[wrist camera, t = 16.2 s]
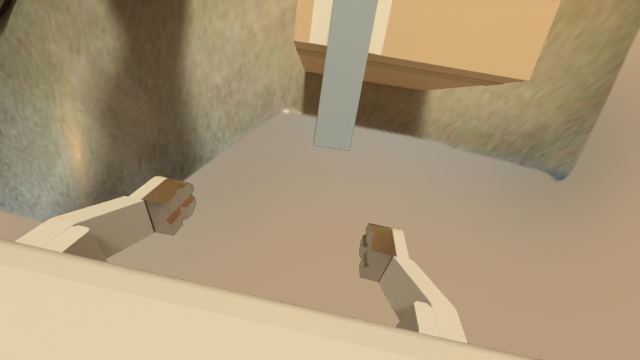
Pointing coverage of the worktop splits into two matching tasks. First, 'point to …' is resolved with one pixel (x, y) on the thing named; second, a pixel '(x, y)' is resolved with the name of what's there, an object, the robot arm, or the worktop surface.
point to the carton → (438, 41)
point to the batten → (344, 71)
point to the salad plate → (4, 6)
